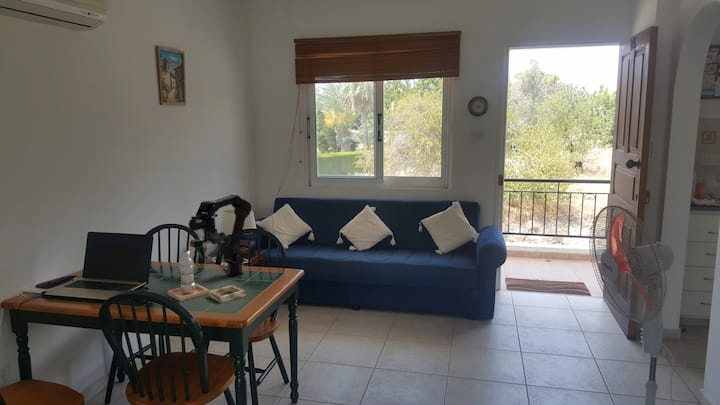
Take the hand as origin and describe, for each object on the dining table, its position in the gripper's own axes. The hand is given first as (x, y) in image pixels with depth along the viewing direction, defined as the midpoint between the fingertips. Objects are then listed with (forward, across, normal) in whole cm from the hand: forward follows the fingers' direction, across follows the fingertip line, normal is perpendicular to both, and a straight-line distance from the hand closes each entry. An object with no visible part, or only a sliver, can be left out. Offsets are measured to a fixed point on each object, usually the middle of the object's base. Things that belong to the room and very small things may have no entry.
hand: (211, 257), depth 241 cm
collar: (+13, -5, -23) cm, 27 cm away
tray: (+13, -16, -7) cm, 22 cm away
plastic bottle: (+13, -16, -7) cm, 21 cm away
